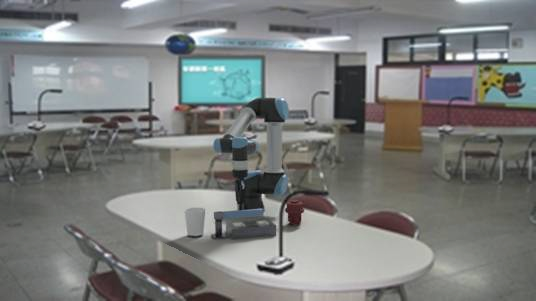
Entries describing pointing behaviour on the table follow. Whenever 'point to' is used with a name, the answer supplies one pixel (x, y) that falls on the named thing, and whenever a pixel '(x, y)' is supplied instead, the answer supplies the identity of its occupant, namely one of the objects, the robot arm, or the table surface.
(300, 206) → the mechanical component
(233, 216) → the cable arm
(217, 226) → the pivot post
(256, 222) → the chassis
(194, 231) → the cup
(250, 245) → the table surface
